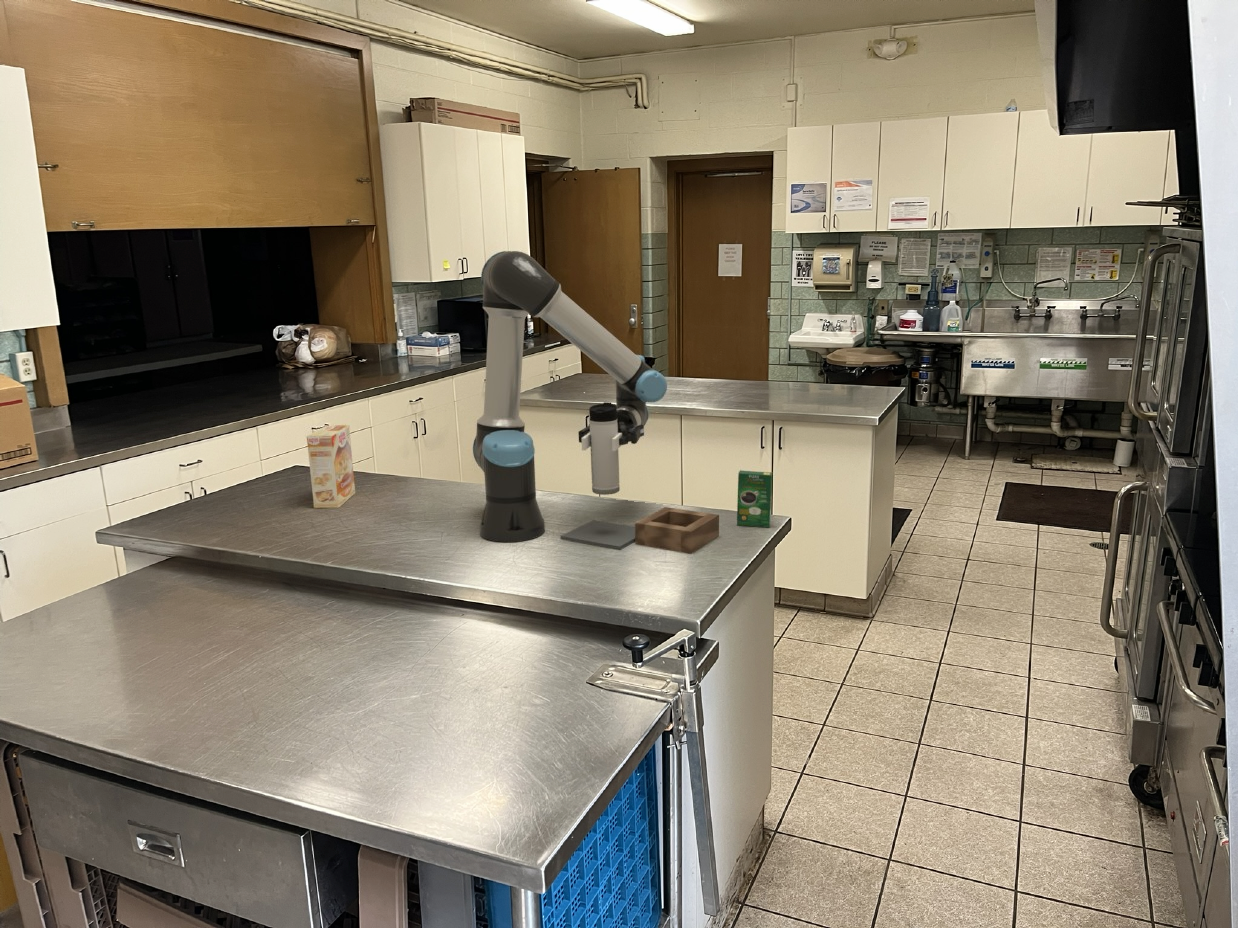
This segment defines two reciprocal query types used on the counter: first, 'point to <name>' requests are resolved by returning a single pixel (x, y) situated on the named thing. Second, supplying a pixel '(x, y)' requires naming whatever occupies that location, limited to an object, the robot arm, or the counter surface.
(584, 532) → the mat
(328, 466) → the coffeecake box
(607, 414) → the travel mug
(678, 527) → the holder
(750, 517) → the coffee box
